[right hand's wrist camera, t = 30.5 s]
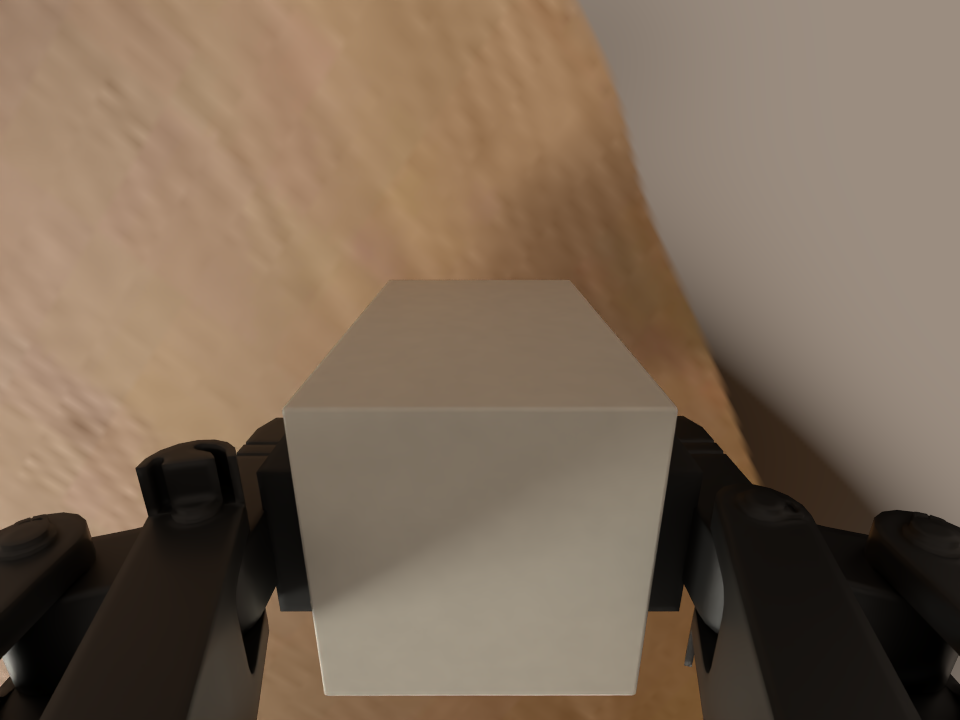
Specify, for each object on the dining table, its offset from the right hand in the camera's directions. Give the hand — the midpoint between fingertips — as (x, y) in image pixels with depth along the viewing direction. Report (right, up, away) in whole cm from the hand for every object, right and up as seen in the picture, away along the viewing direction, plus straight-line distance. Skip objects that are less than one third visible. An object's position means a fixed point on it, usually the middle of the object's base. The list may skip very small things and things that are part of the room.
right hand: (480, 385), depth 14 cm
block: (0, 0, +1) cm, 1 cm away
